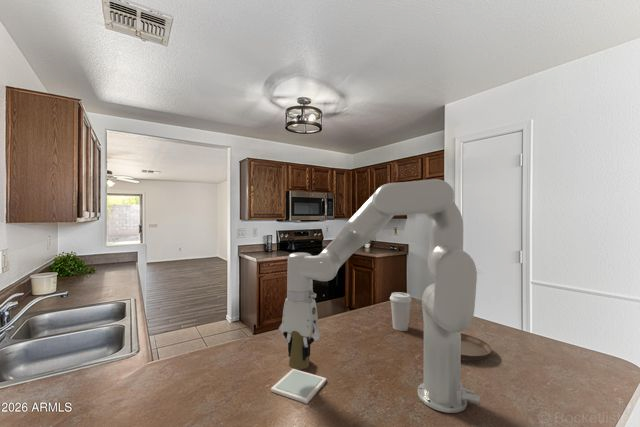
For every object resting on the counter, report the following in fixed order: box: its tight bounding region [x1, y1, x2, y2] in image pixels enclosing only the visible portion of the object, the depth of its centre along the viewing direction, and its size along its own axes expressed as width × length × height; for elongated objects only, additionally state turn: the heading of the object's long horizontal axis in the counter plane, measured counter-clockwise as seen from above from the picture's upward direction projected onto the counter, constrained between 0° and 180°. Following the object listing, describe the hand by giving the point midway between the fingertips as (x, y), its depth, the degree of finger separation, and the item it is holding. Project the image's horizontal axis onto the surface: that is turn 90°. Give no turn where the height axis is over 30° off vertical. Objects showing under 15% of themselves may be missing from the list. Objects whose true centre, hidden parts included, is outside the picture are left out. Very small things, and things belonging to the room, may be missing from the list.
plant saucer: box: [461, 332, 492, 362], centre depth 109 cm, size 21×21×3 cm
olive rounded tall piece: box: [288, 331, 310, 370], centre depth 86 cm, size 6×6×11 cm
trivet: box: [270, 368, 327, 405], centre depth 86 cm, size 12×12×1 cm
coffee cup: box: [389, 291, 412, 332], centre depth 129 cm, size 10×10×15 cm
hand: (298, 356), depth 86 cm, fingers closed on olive rounded tall piece, 4 cm apart
